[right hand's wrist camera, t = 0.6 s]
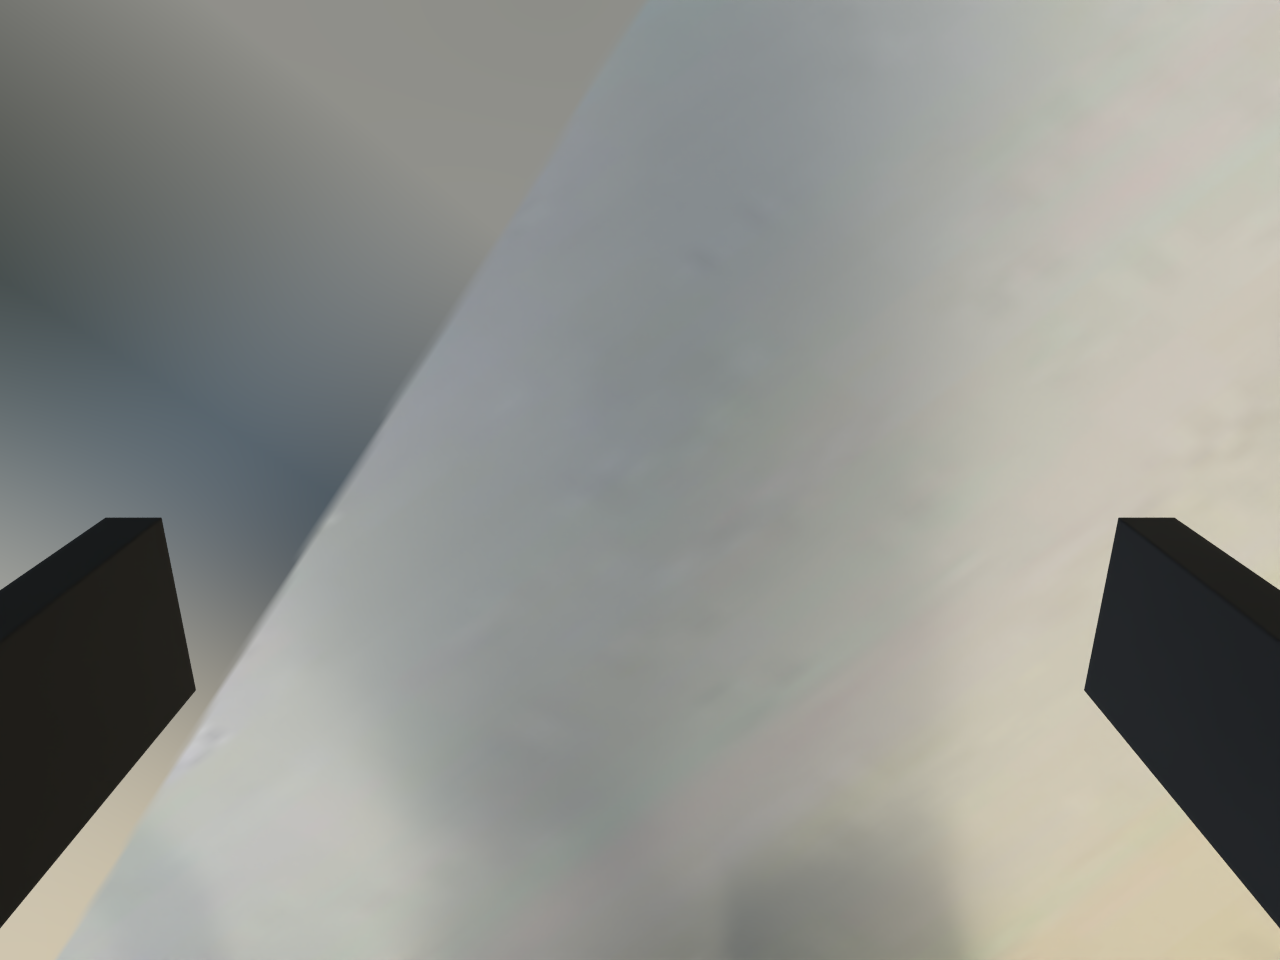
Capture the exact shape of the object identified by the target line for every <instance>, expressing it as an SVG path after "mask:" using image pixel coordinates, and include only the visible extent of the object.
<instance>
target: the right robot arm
mask: <svg viewBox="0 0 1280 960" xmlns="http://www.w3.org/2000/svg"><path fill="white" fill-rule="evenodd" d="M195 690H196V689H195V684H194V679H193V674H192V669H191V664H190V659H189V654H188V648H187V643H186V638H185V634H184V628H183V623H182V618H181V613H180V608H179V603H178V598H177V593H176V588H175V583H174V578H173V573H172V568H171V563H170V558H169V553H168V548H167V543H166V538H165V533H164V528H163V523H162V518H105V519H103V520H102V521H100V522H99V523H97V524H96V525H94V526H93V527H91V528H90V529H89V530H87V531H86V532H84V533H83V534H81V535H80V536H78V537H77V538H75V539H74V540H73V541H71V542H70V543H68V544H67V545H65V546H64V547H62V548H61V549H60V550H58V551H57V552H55V553H54V554H52V555H51V556H49V557H48V558H46V559H45V560H44V561H42V562H41V563H39V564H38V565H36V566H35V567H33V568H32V569H30V570H29V571H28V572H26V573H25V574H23V575H22V576H20V577H19V578H17V579H16V580H15V581H13V582H12V583H10V584H9V585H7V586H6V587H4V588H3V589H1V590H0V928H1V927H2V925H3V924H4V923H5V922H6V921H7V919H8V918H9V917H10V916H11V914H12V913H13V912H14V911H15V910H16V908H17V907H18V906H19V905H20V904H21V902H22V901H23V900H24V899H25V897H26V896H27V895H28V894H29V893H30V891H31V890H32V889H33V888H34V886H35V885H36V884H37V883H38V882H39V880H40V879H41V878H42V877H43V876H44V874H45V873H46V872H47V871H48V869H49V868H50V867H51V866H52V865H53V863H54V862H55V861H56V860H57V858H58V857H59V856H60V855H61V854H62V852H63V851H64V850H65V849H66V848H67V846H68V845H69V844H70V843H71V841H72V840H73V839H74V838H75V837H76V835H77V834H78V833H79V832H80V830H81V829H82V828H83V827H84V826H85V824H86V823H87V822H88V821H89V819H90V818H91V817H92V816H93V815H94V813H95V812H96V811H97V810H98V809H99V807H100V806H101V805H102V804H103V802H104V801H105V800H106V799H107V798H108V796H109V795H110V794H111V793H112V792H113V790H114V789H115V788H116V787H117V785H118V784H119V783H120V782H121V780H122V779H123V778H124V777H125V776H126V774H127V773H128V772H129V771H130V770H131V768H132V767H133V766H134V765H135V763H136V762H137V761H138V760H139V759H140V757H141V756H142V755H143V754H144V753H145V751H146V750H147V749H148V748H149V747H150V745H151V744H152V743H153V742H154V740H155V739H156V738H157V737H158V735H159V734H160V733H161V732H162V731H163V729H164V728H165V727H166V726H167V725H168V723H169V722H170V721H171V720H172V718H173V717H174V716H175V715H176V714H177V712H178V711H179V710H180V709H181V708H182V706H183V705H184V704H185V703H186V701H187V700H188V699H189V698H190V697H191V695H192V694H193V693H194V692H195ZM1084 691H1085V692H1086V693H1087V694H1088V695H1089V697H1090V698H1091V699H1092V700H1093V701H1094V703H1095V704H1096V705H1097V706H1098V708H1099V709H1100V710H1101V711H1102V712H1103V714H1104V715H1105V716H1106V717H1107V719H1108V720H1109V721H1110V722H1111V723H1112V725H1113V726H1114V727H1115V728H1116V729H1117V731H1118V732H1119V733H1120V734H1121V736H1122V737H1123V738H1124V739H1125V740H1126V742H1127V743H1128V744H1129V745H1130V747H1131V748H1132V749H1133V750H1134V751H1135V753H1136V754H1137V755H1138V756H1139V757H1140V759H1141V760H1142V761H1143V762H1144V764H1145V765H1146V766H1147V767H1148V768H1149V770H1150V771H1151V772H1152V773H1153V775H1154V776H1155V777H1156V778H1157V779H1158V781H1159V782H1160V783H1161V784H1162V785H1163V787H1164V788H1165V789H1166V790H1167V792H1168V793H1169V794H1170V795H1171V796H1172V798H1173V799H1174V800H1175V801H1176V802H1177V804H1178V805H1179V806H1180V807H1181V809H1182V810H1183V811H1184V812H1185V813H1186V815H1187V816H1188V817H1189V818H1190V820H1191V821H1192V822H1193V823H1194V824H1195V826H1196V827H1197V828H1198V829H1199V830H1200V832H1201V833H1202V834H1203V835H1204V837H1205V838H1206V839H1207V840H1208V841H1209V843H1210V844H1211V845H1212V846H1213V848H1214V849H1215V850H1216V851H1217V852H1218V854H1219V855H1220V856H1221V857H1222V858H1223V860H1224V861H1225V862H1226V863H1227V865H1228V866H1229V867H1230V868H1231V869H1232V871H1233V872H1234V873H1235V874H1236V876H1237V877H1238V878H1239V879H1240V880H1241V882H1242V883H1243V884H1244V885H1245V886H1246V888H1247V889H1248V890H1249V891H1250V893H1251V894H1252V895H1253V896H1254V897H1255V899H1256V900H1257V901H1258V902H1259V904H1260V905H1261V906H1262V907H1263V908H1264V910H1265V911H1266V912H1267V913H1268V914H1269V916H1270V917H1271V918H1272V919H1273V921H1274V922H1275V923H1276V924H1277V925H1278V927H1279V928H1280V590H1279V589H1277V588H1276V587H1274V586H1273V585H1271V584H1270V583H1268V582H1267V581H1266V580H1264V579H1263V578H1261V577H1260V576H1258V575H1257V574H1255V573H1254V572H1252V571H1251V570H1250V569H1248V568H1247V567H1245V566H1244V565H1242V564H1241V563H1239V562H1238V561H1236V560H1235V559H1234V558H1232V557H1231V556H1229V555H1228V554H1226V553H1225V552H1223V551H1222V550H1221V549H1219V548H1218V547H1216V546H1215V545H1213V544H1212V543H1210V542H1209V541H1207V540H1206V539H1205V538H1203V537H1202V536H1200V535H1199V534H1197V533H1196V532H1194V531H1193V530H1191V529H1190V528H1189V527H1187V526H1186V525H1184V524H1183V523H1181V522H1180V521H1178V520H1177V519H1176V518H1118V523H1117V528H1116V533H1115V538H1114V543H1113V548H1112V553H1111V558H1110V563H1109V568H1108V573H1107V578H1106V583H1105V588H1104V593H1103V598H1102V603H1101V608H1100V613H1099V618H1098V623H1097V628H1096V633H1095V638H1094V643H1093V648H1092V654H1091V659H1090V664H1089V669H1088V674H1087V679H1086V684H1085V689H1084Z"/></svg>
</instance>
